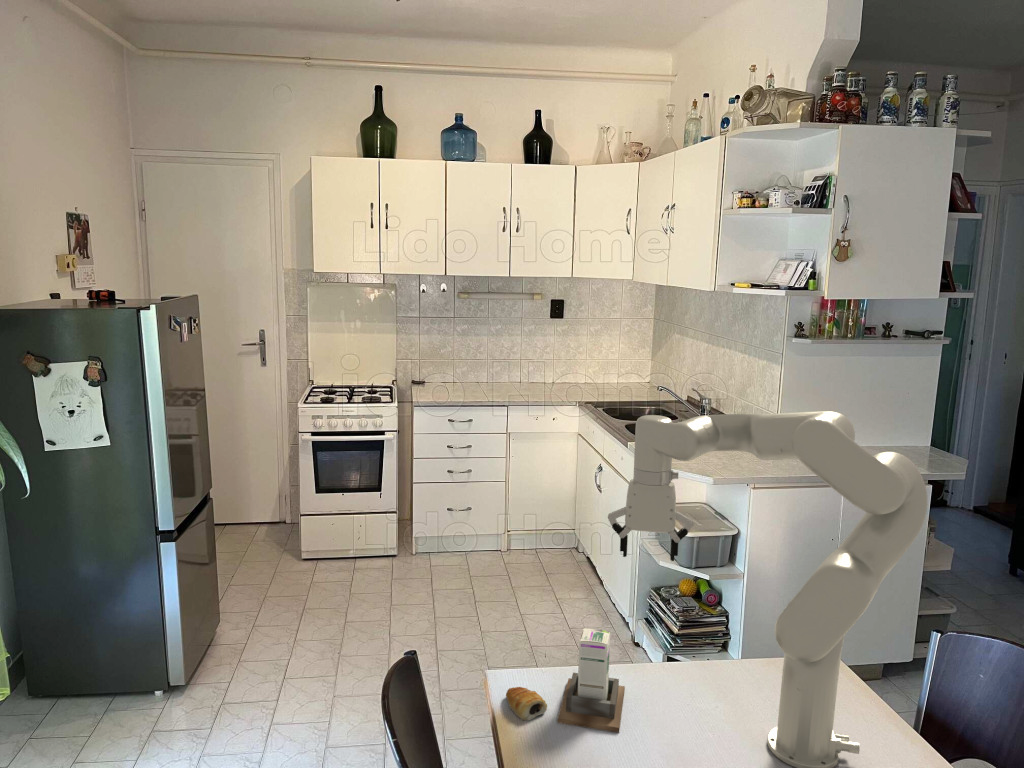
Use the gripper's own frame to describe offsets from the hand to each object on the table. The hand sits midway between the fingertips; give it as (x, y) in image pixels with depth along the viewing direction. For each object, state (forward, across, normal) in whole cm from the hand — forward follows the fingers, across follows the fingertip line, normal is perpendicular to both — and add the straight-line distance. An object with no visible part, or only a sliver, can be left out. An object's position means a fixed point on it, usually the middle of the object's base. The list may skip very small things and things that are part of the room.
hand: (648, 556), depth 156 cm
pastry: (+30, +23, +12) cm, 40 cm away
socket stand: (+30, +10, +8) cm, 32 cm away
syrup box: (+29, +10, +9) cm, 32 cm away
